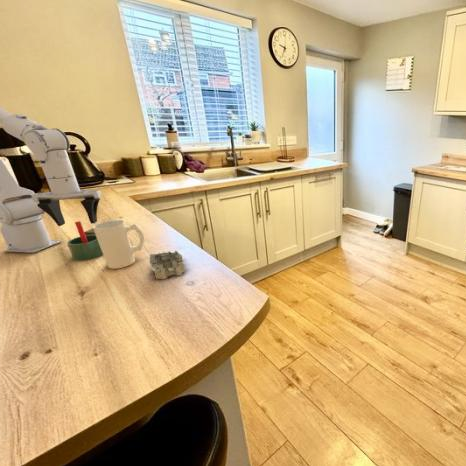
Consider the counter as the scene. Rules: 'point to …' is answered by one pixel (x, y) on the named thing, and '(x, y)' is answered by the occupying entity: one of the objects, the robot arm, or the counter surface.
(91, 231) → the straw holder
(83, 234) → the straw
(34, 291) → the counter surface
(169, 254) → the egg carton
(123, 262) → the mug
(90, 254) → the cup
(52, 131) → the robot arm
